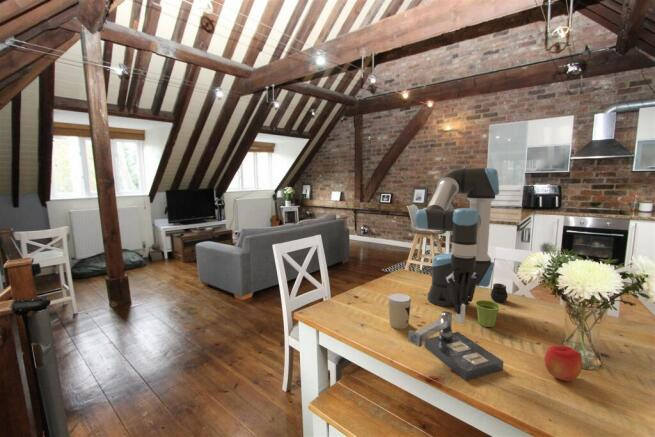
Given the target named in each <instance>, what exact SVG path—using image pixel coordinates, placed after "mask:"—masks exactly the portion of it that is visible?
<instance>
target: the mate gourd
mask: <svg viewBox="0 0 655 437" xmlns="http://www.w3.org/2000/svg"><path fill="white" fill-rule="evenodd" d="M492 285H493V286H492V288H491V291H490V298H491V299H492V300H493V302H495V303H504V302H506V301H507V299H508V292H507V286H506V284H504V283H500V282H499V283H498V282H497V283H496V282H495V283H493V284H492Z"/></svg>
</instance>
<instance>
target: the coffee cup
mask: <svg viewBox="0 0 655 437" xmlns="http://www.w3.org/2000/svg"><path fill="white" fill-rule="evenodd" d="M387 300H388V301H387V302H388V318H389V319H388V320H389V325H390V327H392V328H395V329H397V330H398V329H399V330H401V329H402V330H403V329H407V328H408V327H409V323H410V322H409V321H410V312H411V303H412V302H411V301H412V299H411V297H410V296H409V295H408V294H405V293H400V292H398V293H397V292H396V293H390V294H389V295H388V297H387Z"/></svg>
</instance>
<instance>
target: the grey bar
mask: <svg viewBox="0 0 655 437" xmlns="http://www.w3.org/2000/svg"><path fill="white" fill-rule="evenodd" d="M452 318H453V314H452V312H450V311H445V310H444V311H441V315H440V318H439V319H436V320H434V321H433V322H431V323H429V324H426V325H425V326H423V327H421V328H418V329H417V330H412V329H410V330H408V335H407V336H408V337H407V338H408V340H407V341H408V342H409V343H411V344H413V345H415V346H417V347H420V348H421V346H422V345H423V341H425V339H428V338H431V337H433V336H434V335H435V334H437V333H439V331H441V330H443V331H447V332H449V331H451V330H452V323H453V322H452V321H453V319H452Z"/></svg>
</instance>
